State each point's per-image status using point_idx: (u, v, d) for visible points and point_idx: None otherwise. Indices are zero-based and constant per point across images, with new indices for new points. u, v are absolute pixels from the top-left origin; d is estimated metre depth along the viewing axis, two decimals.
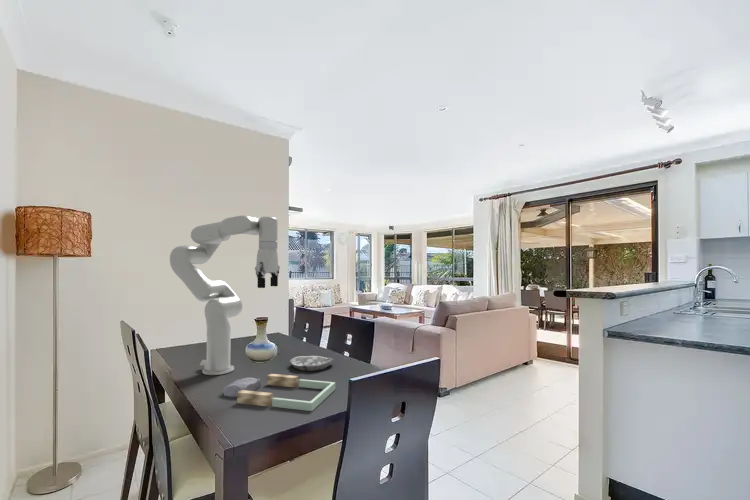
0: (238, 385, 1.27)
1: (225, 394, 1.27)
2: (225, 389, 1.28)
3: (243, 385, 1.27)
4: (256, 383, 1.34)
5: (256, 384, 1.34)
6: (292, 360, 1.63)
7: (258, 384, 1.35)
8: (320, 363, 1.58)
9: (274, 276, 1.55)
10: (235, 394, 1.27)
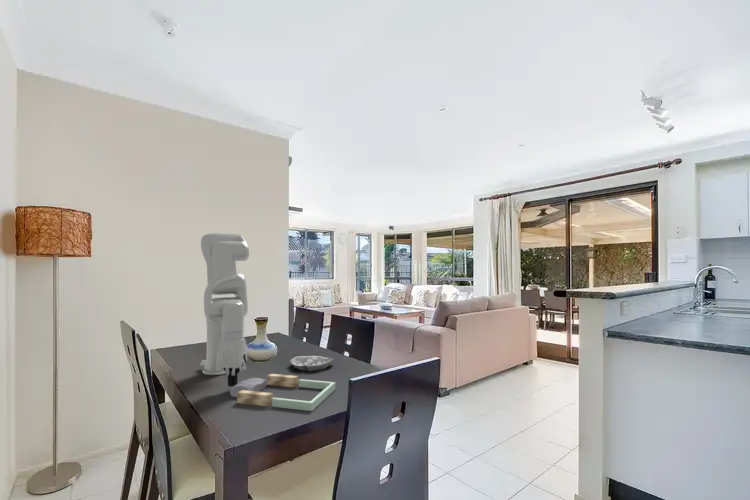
0: (245, 385, 1.27)
1: (232, 395, 1.27)
2: (232, 390, 1.27)
3: (250, 385, 1.27)
4: (263, 383, 1.33)
5: (263, 384, 1.33)
6: (292, 360, 1.63)
7: (264, 385, 1.34)
8: (320, 363, 1.58)
9: None
10: None
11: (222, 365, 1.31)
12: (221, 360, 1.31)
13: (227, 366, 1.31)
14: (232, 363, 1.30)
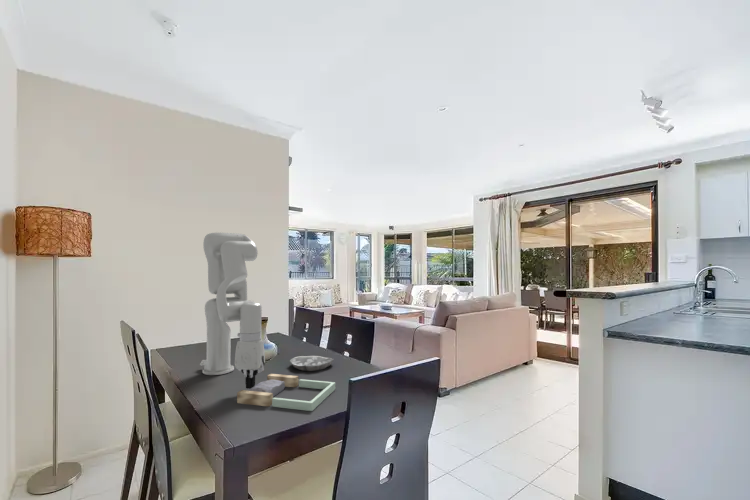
0: (263, 388, 1.24)
1: None
2: None
3: (268, 388, 1.25)
4: (280, 385, 1.31)
5: (281, 387, 1.31)
6: (292, 360, 1.63)
7: (282, 387, 1.32)
8: (320, 363, 1.58)
9: None
10: None
11: (240, 367, 1.29)
12: (239, 362, 1.30)
13: (245, 368, 1.29)
14: (250, 365, 1.28)
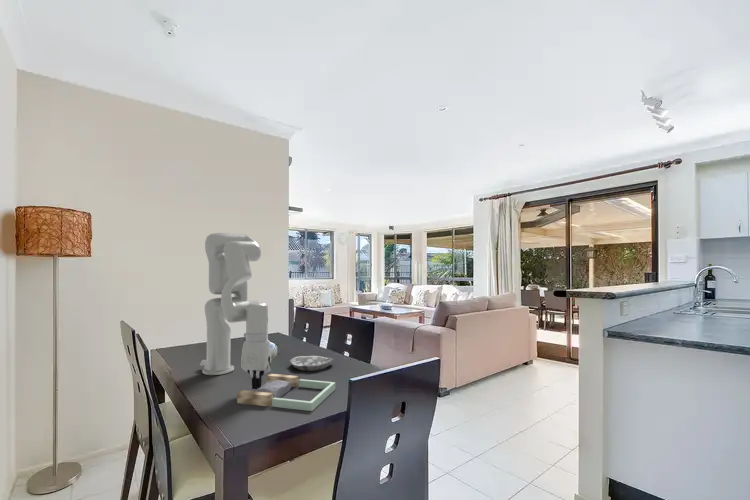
0: (269, 388, 1.24)
1: None
2: None
3: (274, 388, 1.24)
4: (287, 386, 1.30)
5: (287, 387, 1.30)
6: (292, 360, 1.63)
7: (288, 388, 1.31)
8: (320, 363, 1.58)
9: None
10: None
11: (246, 367, 1.29)
12: (245, 362, 1.29)
13: (251, 368, 1.28)
14: (257, 365, 1.28)
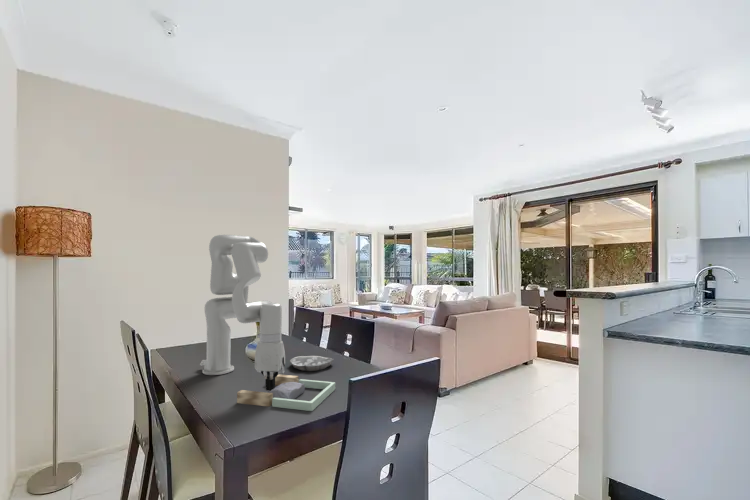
0: (282, 390, 1.22)
1: None
2: None
3: (287, 390, 1.22)
4: (300, 388, 1.28)
5: (300, 389, 1.28)
6: (292, 360, 1.63)
7: (302, 390, 1.29)
8: (320, 363, 1.58)
9: None
10: None
11: (260, 368, 1.27)
12: (259, 363, 1.28)
13: (265, 369, 1.27)
14: (271, 366, 1.26)
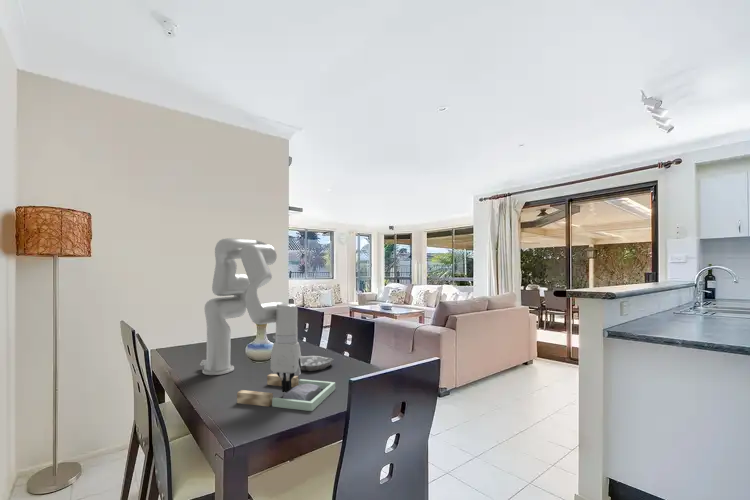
0: (299, 392, 1.20)
1: None
2: (285, 396, 1.21)
3: (304, 392, 1.20)
4: (316, 390, 1.26)
5: (317, 391, 1.26)
6: None
7: (318, 392, 1.27)
8: (320, 363, 1.58)
9: None
10: None
11: (276, 370, 1.26)
12: (275, 365, 1.26)
13: (282, 371, 1.25)
14: (287, 368, 1.25)
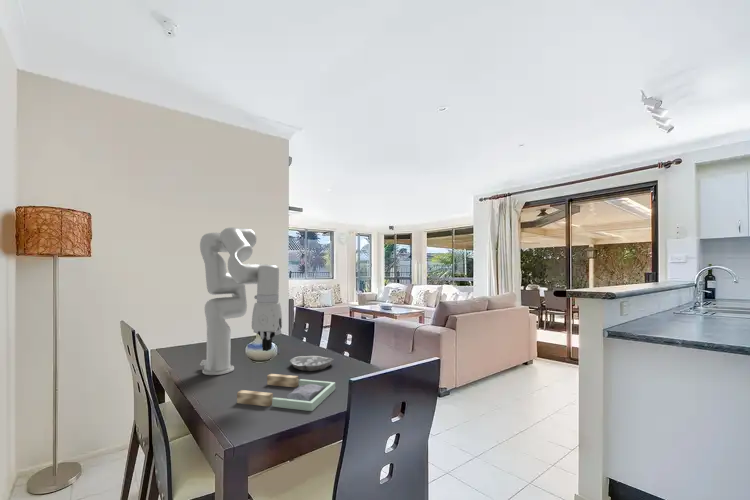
0: (302, 393, 1.19)
1: None
2: (289, 396, 1.21)
3: (307, 393, 1.19)
4: (320, 391, 1.25)
5: None
6: (292, 360, 1.63)
7: None
8: (320, 363, 1.58)
9: None
10: None
11: (257, 329, 1.28)
12: (256, 324, 1.28)
13: (262, 330, 1.28)
14: (268, 327, 1.27)
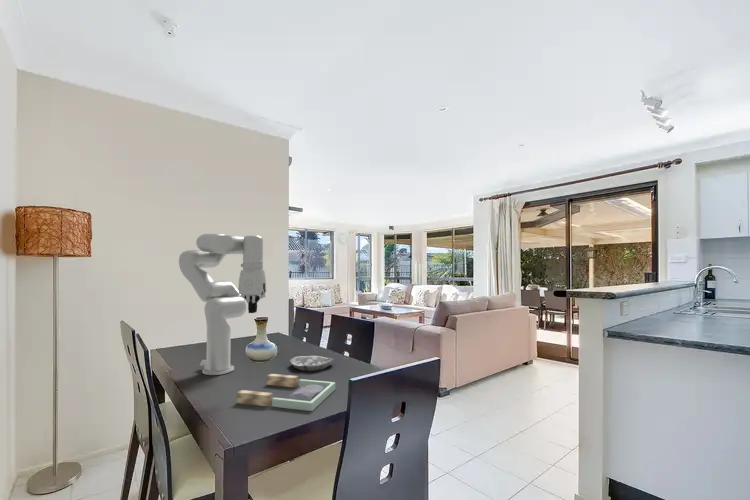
0: (304, 393, 1.19)
1: None
2: (291, 397, 1.20)
3: (310, 393, 1.19)
4: None
5: None
6: (292, 360, 1.63)
7: None
8: (320, 363, 1.58)
9: None
10: None
11: (243, 293, 1.41)
12: (242, 288, 1.42)
13: (248, 293, 1.41)
14: (253, 290, 1.40)
